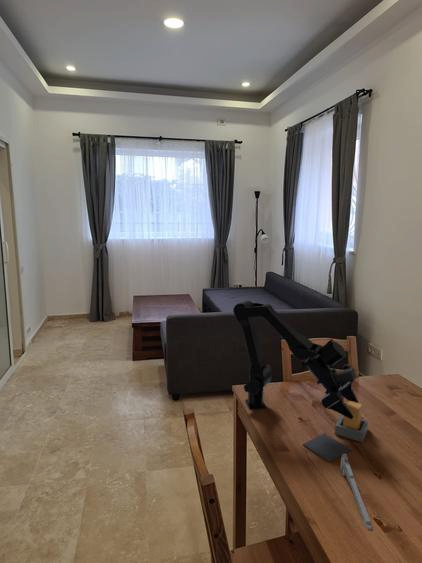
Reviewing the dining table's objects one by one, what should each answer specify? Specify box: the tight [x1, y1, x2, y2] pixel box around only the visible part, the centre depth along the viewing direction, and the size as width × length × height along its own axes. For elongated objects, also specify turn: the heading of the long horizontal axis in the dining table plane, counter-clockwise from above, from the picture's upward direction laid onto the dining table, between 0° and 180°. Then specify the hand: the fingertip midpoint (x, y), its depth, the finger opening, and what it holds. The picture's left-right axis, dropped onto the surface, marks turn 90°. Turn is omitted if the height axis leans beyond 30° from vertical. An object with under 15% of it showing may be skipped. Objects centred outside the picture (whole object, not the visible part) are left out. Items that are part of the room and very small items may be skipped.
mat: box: [302, 433, 352, 463], centre depth 115 cm, size 10×10×1 cm
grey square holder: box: [334, 414, 369, 443], centre depth 123 cm, size 8×8×3 cm
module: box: [343, 399, 363, 431], centre depth 123 cm, size 4×4×10 cm
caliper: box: [340, 453, 373, 531], centre depth 94 cm, size 20×1×6 cm, turn 178°
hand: (355, 411), depth 122 cm, fingers open, 9 cm apart
